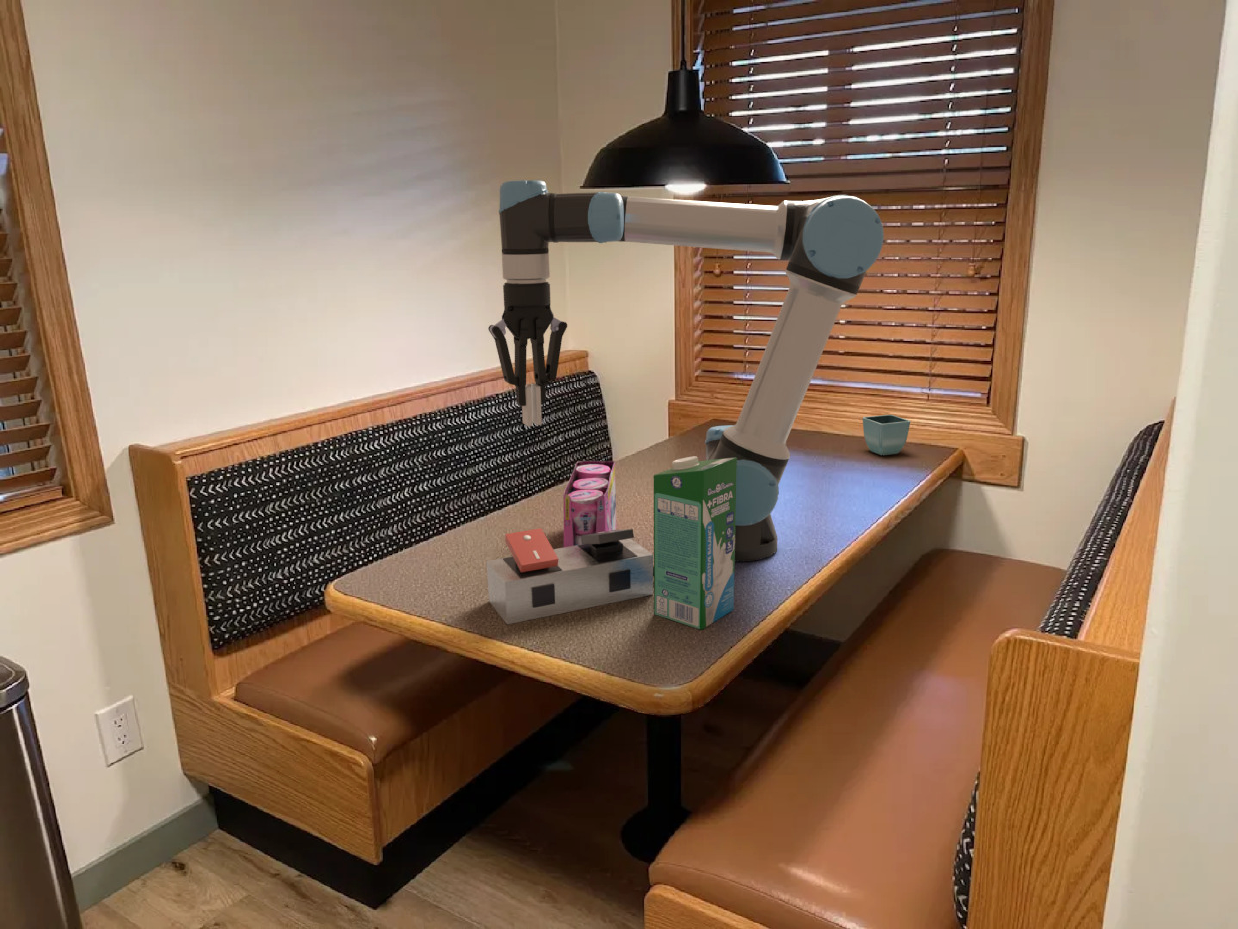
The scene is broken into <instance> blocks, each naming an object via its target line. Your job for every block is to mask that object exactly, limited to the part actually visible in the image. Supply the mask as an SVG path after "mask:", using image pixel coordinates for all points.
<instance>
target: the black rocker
mask: <svg viewBox="0 0 1238 929" xmlns="http://www.w3.org/2000/svg"><path fill="white" fill-rule="evenodd" d="M630 538H631V539H635V536H634V530H633V528H630V529H629V528H628V529H616V530H611V531H605V532H599V533H594V534H588V535H582V536H581V542H582V544H602V543H607V542H613V541H619V540H624V539H630Z"/></svg>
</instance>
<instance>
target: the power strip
mask: <svg viewBox="0 0 1238 929" xmlns="http://www.w3.org/2000/svg"><path fill="white" fill-rule="evenodd" d="M553 550H554V552H555V554H556V555H557V557H558V566H554V567H549V568H543V569H538V570H532V571H527V572H521V571H520V569H519V567H518V565H517V563H516V562H515V560H514V558H513V556H512V555H511V556H508V557H503V558H496V559H490V560H486V570H487V571H486V574H487V588H488V589H487V590H488V593H487V594H488V603H489V604H490V605H491V606H492V607H493V608H494V610H495V612H497V614H498V615H499V616H500V618H501V619H502V620H503V621H504V623H505V624H506V625H512V624H515V623H522V622H527V621H530V620H536V619H541V618H546V617H550V616H554V615H560V614H565V613H569V612H574V611H579V610H580V611H581V610H585V609H588V608H594V607H599V606H604V605H608V604H614V603H620V602H623V601H627V600H632V599H637V598H643V597H647V596H651V595H653V596H654V553H651V552H650V551H649V550H648V549H646V548H645V547H643V546H641V544H639V542H636V541H635V540H633V538H630V539H624V540H619V541H613V542H607V543H602V544H581V545H575V546H570V547H564V546H563V547H560V548H553Z"/></svg>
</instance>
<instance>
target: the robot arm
mask: <svg viewBox="0 0 1238 929" xmlns="http://www.w3.org/2000/svg"><path fill="white" fill-rule="evenodd" d="M498 214H499V215H498V216H499V226H500V242H501V243H500V244H501V264H502V266H501V267H502V278H503V280H504V281H505V280H506V282H504V283H503V285H502V288H503V289H502V290H503V291H502V292H503V307H504V310H503V313H502V315H501V320H499V321H498V322H497V323H495V324H490V325H489V326H488V332H489V333H490V334H491V336H492V338H493V340H494V343H495V346H496V352H497V355H498V360H499V364H500V367H501V372H502V376H503V379H504V382H505V383H507V384H510V385H513V386H515V396H516V397H515V398H516V399H515V402H516V404H517V405H518V406H519V407H521V409H522V411H521V412H522V414H521V415H522V416H521V417H522V424H524V425H525V426H527V427H532V426H533V424H535V425H536V426H542V424H543V422H542V421H543V420H542V417H543V416H542V405H544V404H546V402H547V392H546V390H547V389H546V387H547V386H548V385H549V382H551V381H553V382H554V381H555V380H556V379H557V375H558V368H559V363H560V362H559V361H560V357H561V355H560V354H561V350H562V342H563V341H562V340H563V336H564V334H565V332H566V330H567V328H568V324H567V322H566V321H562V320H559V319H557V318H556V317H554V313H553V311H552V308H551V284H550V283H549V282H548V281H547V280H548V279H549V278H550V277H551V275H550V274H551V273H550V255H549V250H550V249H549V245H550V243H598V244H603V243H611V242H620V243H622V242H623V243H624V242H626V243H637V244H638V243H639V244H650V245H651V244H653V245H666V246H676V247H677V246H679V247H692V248H706V249H718V250H731V251H733V250H734V251H745V252H757V253H758V252H759V253H769V254H773V255H774V257H775V258H776V259H777V260H783V261H788V263H787V266H786V268H785V270H784V271H785V274H786V276H787V278H788V281H789V287H788V291H787V293H786V296H785V298H784V300H783V303H782V305H781V308H780V310H779V313H778V316H777V318H776V320H775V324H774V326H773V329H772V331H771V334H770V335H769V339H768V340H767V344H766V347H765V349H764V352H763V353H762V354H763V355H762V357H761V360H760V362H759V365H758V367H757V370H756V371H755V372H756V373H755V374H754V378H753V380H752V383H751V385H750V388H749V390H748V393H747V396H746V398H745V401H744V404H743V406H742V409H741V411H740V414H739V415H738V419H737V422H736V423H735V424H733V425H731V424H730V425H729V424H728V425H718V426H717V425H716V426H712V427H709V429H707V431H706V438H705V441H704V445H705V460H715V459H725V458H734V457H736V458H737V475H736V521H735V562H753V561H759V560H758V559H760V560H763V559H762V558H764V559H767V558H769V557H771V556H773V555H774V554H775V553H776V552H777V550H778V534H777V531H776V528H775V525H774V520H773V518H772V515H771V513H772V512H773V510H774V509H775V507H776V505H777V503H778V500H779V494H780V491H779V484H780V482H781V479H782V477H783V475H784V473H785V470H786V467H787V465H788V462H789V460H790V458H791V453H790V451H789V449H788V447H787V440H788V437H789V435H790V432H791V430H792V428H793V425H794V422H795V420H796V418H797V416H798V413H799V411H800V408H801V406H802V404H803V401H804V398H805V396H806V393H807V392H808V389H809V386H810V384H811V381H812V380H813V377H814V373H815V372H816V369H817V366H818V364H819V361H820V360H821V358H822V355H823V351H824V350H825V348H826V345H827V342H828V340H829V337H830V334H831V332H832V331H833V327H834V325H835V323H836V320H837V318H838V315H839V313H840V310H841V308H842V305H843V304H845V302H847V301H850V300H852V299H855V298H856V297H857V295H858V293H859V290H860V288H861V285H862V284H863V280H864V278H865V275H866V274H867V271H868V270H869V269H870V268H871V267H872V266H873V264H875V262H876V260H878V258H879V255H880V254H881V252H882V248H883V245H884V239H885V238H884V226H883V222H882V220H881V218H880V216H879V214H878V212H877V211H876V209H874V208H873V207H872V205H870V204H869V203H867V201H865V200H864V199H860V198H859V197H857V196H851V195H848V194H838V195H833V196H830V197H829V196H828V197H825V198H820V199H814V200H813V199H811V200H803V201H802V200H783V201H781V203H780V204H778V205H764V204H751V203H750V204H749V203H746V204H745V203H732V202H718V201H703V200H702V201H701V200H688V199H675V198H673V199H672V198H658V197H657V198H656V197H645V196H644V197H642V196H631V195H630V196H625V195H621V194H619V193H617V192H605V191H597V192H596V191H595V192H573V193H572V192H571V193H570V192H569V193H568V192H567V193H557V192H556V193H554V192H549V190H548V189H547V183H546V182H545V181H544V180H540V179H539V180H535V179H534V180H533V179H532V180H520V179H519V180H506V181H504V182H502V183H501V185H500V187H499V210H498ZM549 327H550V334H549V342H548V349H547V355H546V360H545V348H544V344H545V338H544V335H545V333H546V332H547V330H548V329H549ZM506 328H507V329H508V331H509V332H510V333H511V334H512V336H513V344H514V367H513V364H512V363H513V362H512V359H511V355H510V350H509V346H508V342H507V339H506V337H505V335H506V334H507V332H506V331H507V330H506ZM528 340H529V341H530V343H531V354H532V362H533V363H532V365H533V376H534V382H535V383H530V386H529V385H528V384H527V347H528V343H529V342H528ZM545 361H546V362H545ZM774 552H775V553H774ZM773 553H774V554H773ZM772 554H773V555H772ZM770 555H771V556H770ZM766 557H767V558H766Z"/></svg>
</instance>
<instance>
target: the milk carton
mask: <svg viewBox="0 0 1238 929" xmlns="http://www.w3.org/2000/svg"><path fill="white" fill-rule="evenodd" d="M736 475H737V458H736V457H734V458H725V459H715V460H706V459H705V460H699V458H698V456H694V455H693V456H688V457H687V456H686V457H683V458H678V459H675V460H673V461H672V467H671V468H669V469H667V470H663V471H661V472H659V473H655V474H653V567H654V577H653V615H655V616H658V617H661V618H665V619H667V620H670V621H674V622H676V623H680V624H682V625H686V626H689V627H691V628H695V629H697V630H699V631H700V630H701V631H702V630H704V629H705V628H707V627H708V626H710V625H712V624H713V623H715V622H717V621H718V620H720V619H722V618H723V617H724V616H726V615H728V614H729V613H731V612H732V611H734V609H735V608H734V607H735V605H734V604H735V600H734V599H735V598H734V597H735V562H736V561H735V521H736Z"/></svg>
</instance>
